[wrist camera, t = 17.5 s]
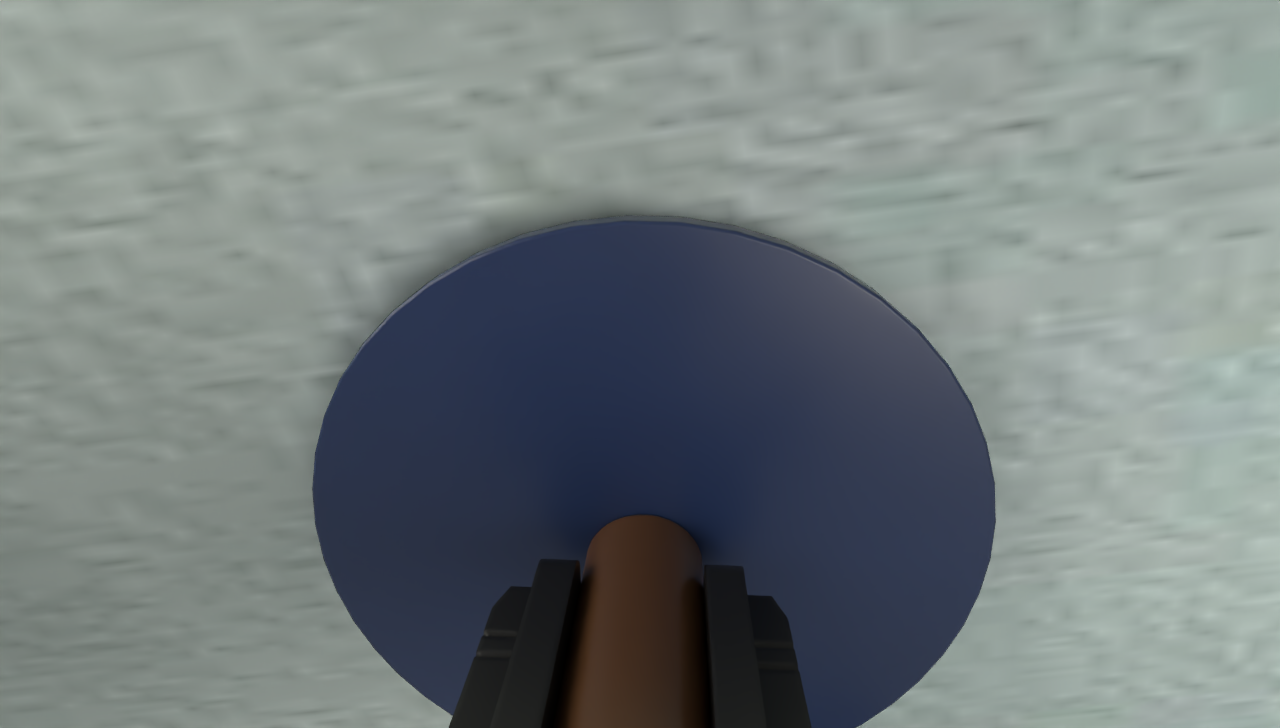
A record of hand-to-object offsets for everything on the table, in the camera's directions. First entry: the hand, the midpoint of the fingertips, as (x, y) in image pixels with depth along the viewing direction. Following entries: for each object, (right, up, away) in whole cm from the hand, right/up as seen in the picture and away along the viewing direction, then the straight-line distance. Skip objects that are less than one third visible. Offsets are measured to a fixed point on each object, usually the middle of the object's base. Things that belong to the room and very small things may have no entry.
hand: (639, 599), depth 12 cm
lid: (0, +1, +2) cm, 2 cm away
